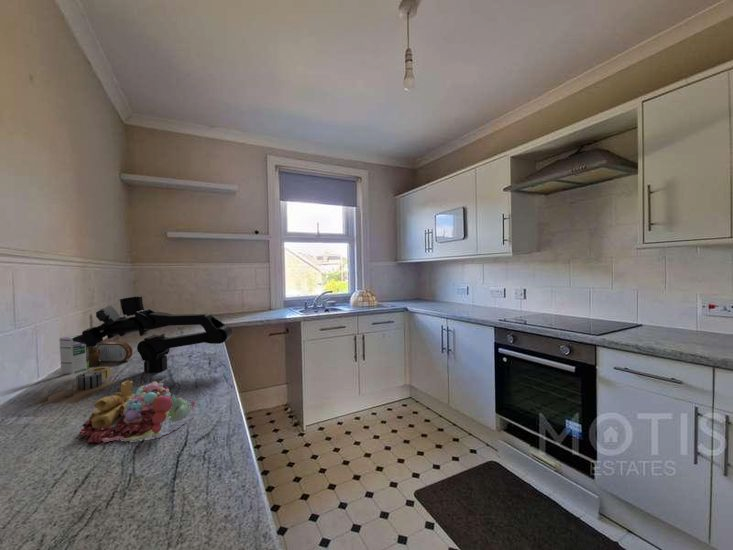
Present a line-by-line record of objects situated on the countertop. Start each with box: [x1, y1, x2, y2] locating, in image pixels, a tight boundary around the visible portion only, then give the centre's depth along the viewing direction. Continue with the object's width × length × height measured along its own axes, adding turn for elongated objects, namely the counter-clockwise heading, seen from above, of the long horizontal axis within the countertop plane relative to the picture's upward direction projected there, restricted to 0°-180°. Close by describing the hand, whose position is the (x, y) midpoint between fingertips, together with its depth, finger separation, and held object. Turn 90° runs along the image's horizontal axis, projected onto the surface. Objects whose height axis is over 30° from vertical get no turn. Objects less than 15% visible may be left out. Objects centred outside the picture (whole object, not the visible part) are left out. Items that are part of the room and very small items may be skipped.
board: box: [33, 380, 118, 405], centre depth 98 cm, size 12×16×6 cm
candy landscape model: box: [78, 380, 196, 444], centre depth 82 cm, size 25×24×9 cm
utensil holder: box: [88, 346, 100, 368], centre depth 127 cm, size 6×6×12 cm
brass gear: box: [86, 366, 112, 380], centre depth 110 cm, size 6×6×4 cm
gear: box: [75, 371, 103, 390], centre depth 101 cm, size 6×6×4 cm
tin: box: [96, 340, 133, 363], centre depth 133 cm, size 15×3×8 cm, turn 85°
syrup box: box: [58, 333, 90, 376], centre depth 117 cm, size 6×6×14 cm
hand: (82, 334), depth 114 cm, fingers open, 9 cm apart
